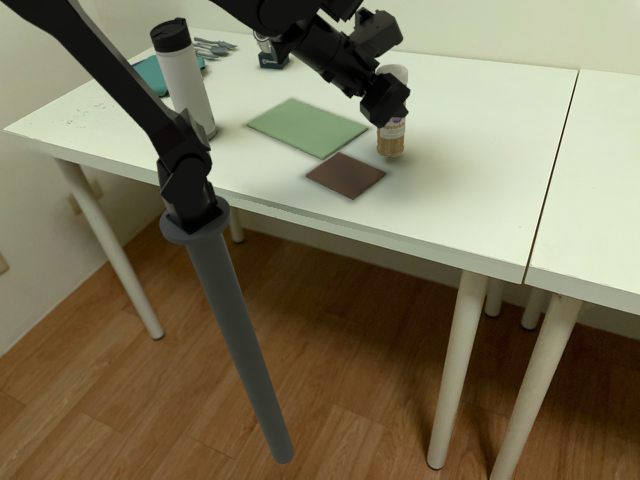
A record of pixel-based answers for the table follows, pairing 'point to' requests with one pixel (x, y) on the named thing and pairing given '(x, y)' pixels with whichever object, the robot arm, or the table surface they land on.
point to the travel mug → (182, 72)
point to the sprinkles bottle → (392, 119)
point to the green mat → (307, 128)
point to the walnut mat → (346, 175)
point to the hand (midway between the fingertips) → (399, 108)
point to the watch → (267, 53)
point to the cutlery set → (153, 72)
